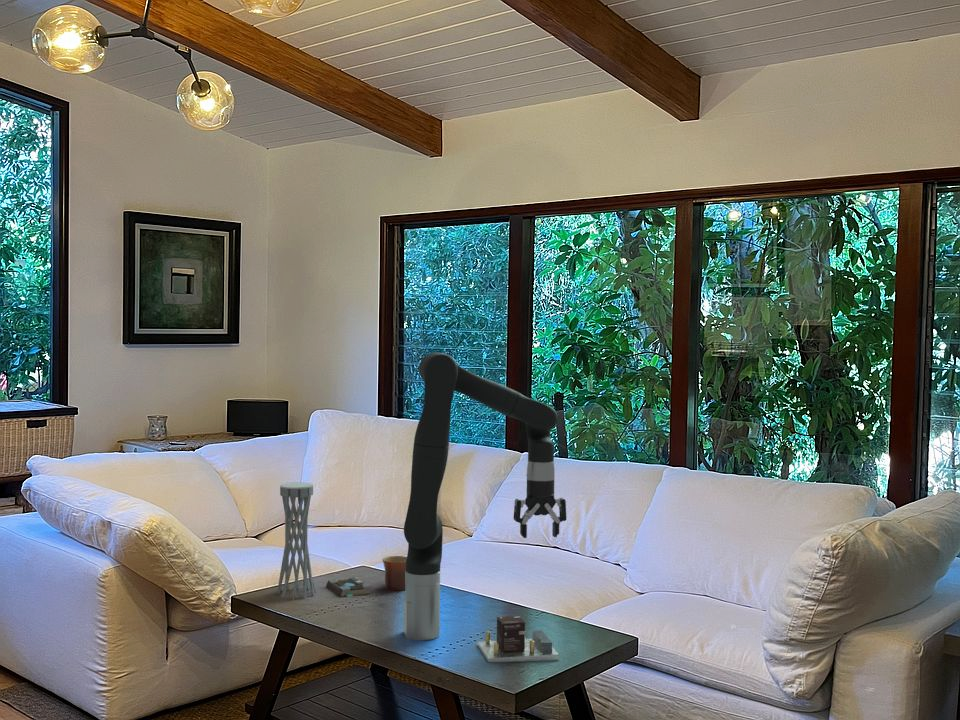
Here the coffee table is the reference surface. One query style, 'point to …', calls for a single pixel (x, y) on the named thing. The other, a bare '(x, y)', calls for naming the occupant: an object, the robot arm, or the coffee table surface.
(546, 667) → the coffee table surface
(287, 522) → the grey lattice tower
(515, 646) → the box
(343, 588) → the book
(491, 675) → the coffee table surface
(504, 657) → the chassis
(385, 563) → the mug
